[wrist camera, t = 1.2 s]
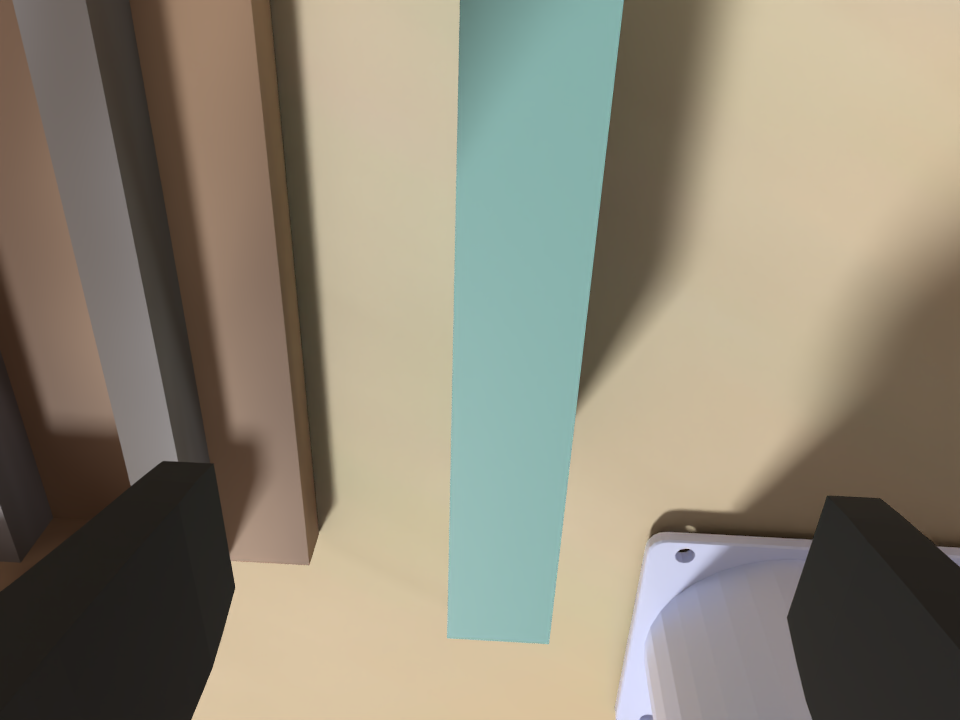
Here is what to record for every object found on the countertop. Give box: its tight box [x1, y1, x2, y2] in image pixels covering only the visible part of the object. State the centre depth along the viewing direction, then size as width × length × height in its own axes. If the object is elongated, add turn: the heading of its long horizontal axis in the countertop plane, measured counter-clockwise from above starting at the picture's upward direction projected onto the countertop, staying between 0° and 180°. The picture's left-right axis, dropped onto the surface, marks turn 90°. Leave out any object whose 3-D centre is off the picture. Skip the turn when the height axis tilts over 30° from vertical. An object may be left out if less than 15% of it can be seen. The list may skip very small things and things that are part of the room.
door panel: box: [447, 0, 624, 644], centre depth 15 cm, size 2×12×6 cm, turn 178°
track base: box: [0, 0, 319, 591], centre depth 16 cm, size 10×18×4 cm, turn 178°
